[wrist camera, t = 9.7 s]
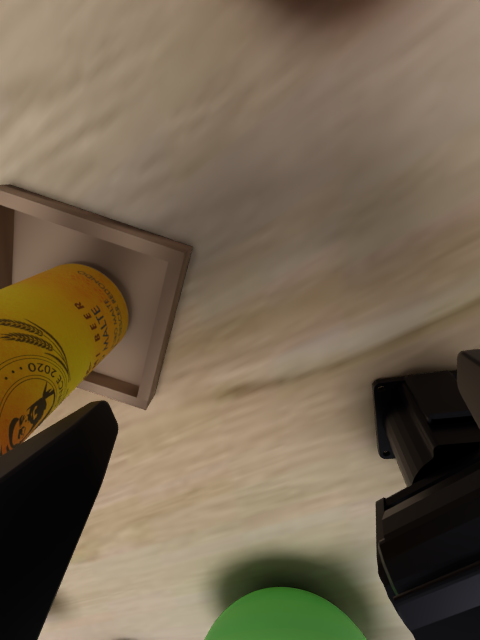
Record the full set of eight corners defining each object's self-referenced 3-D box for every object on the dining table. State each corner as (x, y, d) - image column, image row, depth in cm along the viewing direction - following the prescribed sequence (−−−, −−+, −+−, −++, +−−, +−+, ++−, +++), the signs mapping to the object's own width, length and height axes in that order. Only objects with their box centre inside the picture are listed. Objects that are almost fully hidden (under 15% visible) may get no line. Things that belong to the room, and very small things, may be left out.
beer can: (127, 357, 24) (-84, 607, 10) (43, 332, 24) (-285, 548, 10) (140, 276, 21) (-116, 461, 8) (46, 248, 21) (-382, 382, 8)
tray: (192, 247, 21) (184, 253, 19) (154, 394, 26) (145, 410, 24) (9, 184, 21) (-15, 185, 19) (5, 345, 25) (-15, 357, 24)
